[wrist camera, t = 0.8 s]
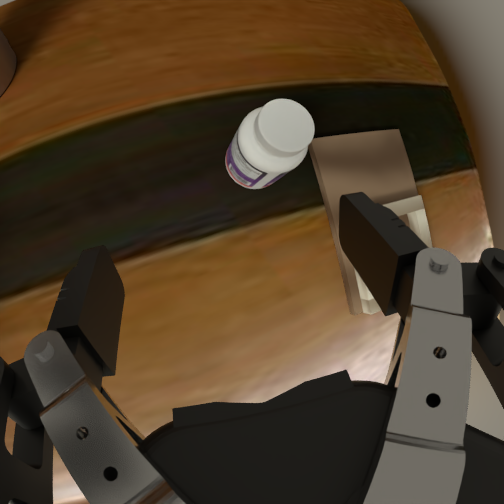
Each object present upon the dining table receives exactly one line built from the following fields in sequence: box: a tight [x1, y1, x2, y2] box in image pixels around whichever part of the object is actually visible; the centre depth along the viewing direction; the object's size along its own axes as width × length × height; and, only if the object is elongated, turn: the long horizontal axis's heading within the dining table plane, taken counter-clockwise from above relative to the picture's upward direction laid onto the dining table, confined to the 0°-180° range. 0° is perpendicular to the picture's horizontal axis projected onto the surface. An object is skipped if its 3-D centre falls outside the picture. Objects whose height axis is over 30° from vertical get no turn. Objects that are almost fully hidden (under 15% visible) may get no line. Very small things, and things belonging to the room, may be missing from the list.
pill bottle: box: [225, 99, 315, 189], centre depth 25 cm, size 5×5×10 cm
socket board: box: [308, 129, 433, 316], centre depth 31 cm, size 18×12×2 cm, turn 15°
